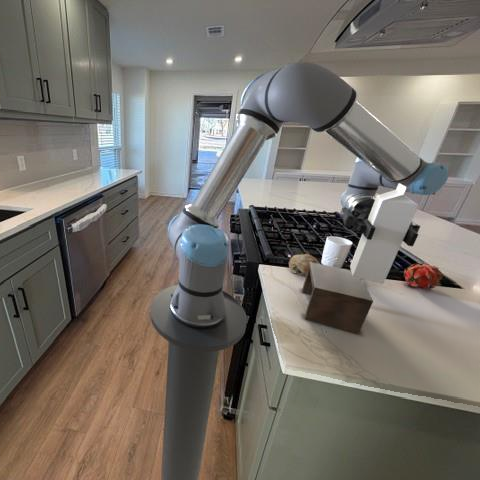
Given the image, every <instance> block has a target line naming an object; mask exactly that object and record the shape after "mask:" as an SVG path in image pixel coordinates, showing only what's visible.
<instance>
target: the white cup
mask: <svg viewBox="0 0 480 480" xmlns="http://www.w3.org/2000/svg"><path fill="white" fill-rule="evenodd" d="M352 246H353V241H351V240H349V239H347V238H344V237H339V236H331V235H330V236H327V237H326V240H325V242H324V246H323V251H322V257H321V259H320V262H321V263H320V264H322V265H327V266H332V267H337V268H342V267H343V266H344V263H345V262H346V259H347V257H348V255H349V254H350V253H349V252H350V250H351V248H352Z"/></svg>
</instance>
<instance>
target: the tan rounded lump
mask: <svg viewBox="0 0 480 480" xmlns="http://www.w3.org/2000/svg"><path fill="white" fill-rule="evenodd" d="M310 262H312V263H317V264H321V263H320V262H319V260H318V259H317V258H316V257H314V256H313V255H311V254H310V253H309V254H307V253H304V254H295V255H293V256H292V257H291V258H290V259H289V262H288V267H289V269H290V271H292V273H294V274H297V275H300V276H303V277H306V275H307V272H308V268H309V265H310Z"/></svg>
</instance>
